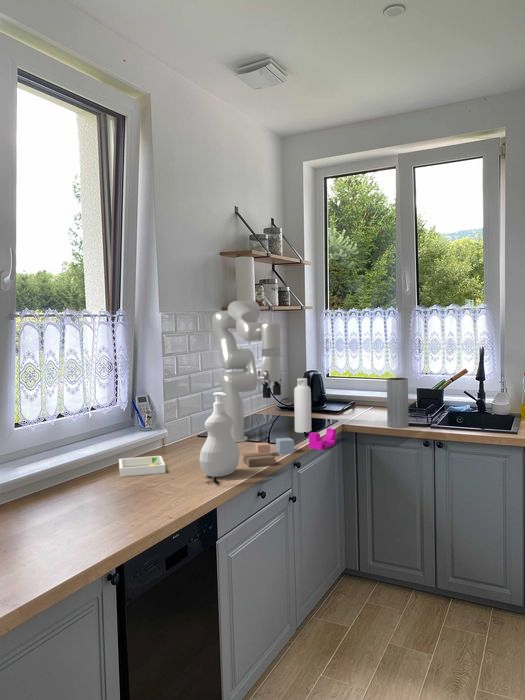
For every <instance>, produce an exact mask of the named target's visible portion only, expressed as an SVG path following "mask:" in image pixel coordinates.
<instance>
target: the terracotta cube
mask: <svg viewBox="0 0 525 700" xmlns="http://www.w3.org/2000/svg"><path fill="white" fill-rule="evenodd" d="M260 452H268V453H269V454H271V444H270V443H268V442H267V441H266V442H256V443H255V442H254V453H260Z"/></svg>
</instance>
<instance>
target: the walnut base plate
mask: <svg viewBox="0 0 525 700" xmlns="http://www.w3.org/2000/svg"><path fill="white" fill-rule="evenodd" d="M275 458H276V457H275V456H273V455H272V454H271V453H270V454H269V453H268V452H260V453H255V452H252V453H251V452H250V453H243V454H242V463H244V464H245V465H246V466H247V467H248V468H256V467H267V466H275V465H276V462H275V460H276V459H275Z"/></svg>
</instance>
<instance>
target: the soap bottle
mask: <svg viewBox="0 0 525 700" xmlns="http://www.w3.org/2000/svg"><path fill="white" fill-rule="evenodd" d="M212 395H213V396H214V397H215V398H214V399H215V402H213V406H212V407H213V411H212V414H211V415H210V416H208V418H207V419H206V420H205V421H204V428H205V429H206V431H207V437H206V439H205V442H204V443H203V446H202V448H201V450H200V453H199V459H198V460H199V466H200V470H202V471H203V473H204V474H205V475H206V476H207V477H213V478H223V477H226V476H229V475H231V474H233V473H235V471H236V469H237V467H238V465H239V461H240V455H241V454H240V450H239V446H238V444H237V442H235V441H234V439H233V438H232V435H231V428H232V426H233V419H232V418H231V417H230V416H229V415H227V414H226V413H225V411H224V402H223V398H222V396H227V395H226V394H225V393H223V392H222V391H220V392H219V391H217V392H213V394H212Z"/></svg>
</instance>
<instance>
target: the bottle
mask: <svg viewBox="0 0 525 700" xmlns="http://www.w3.org/2000/svg"><path fill="white" fill-rule="evenodd" d="M296 382H297V384H296V385H297V386H295V387H294V389H293V395H294V396H293V397H294V398H293V403H294V404H293V405H294V407H293V408H294V416H293V417H294V432H296V433H300V434H302V433H304V432H306V433H311V432H312V392H311V391H312V390H311V387H310V386H309V385H308V378H305V377H304V378H303V377H301V378H300V377H299V378H297V381H296ZM310 431H311V432H310ZM304 434H305V433H304Z"/></svg>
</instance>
